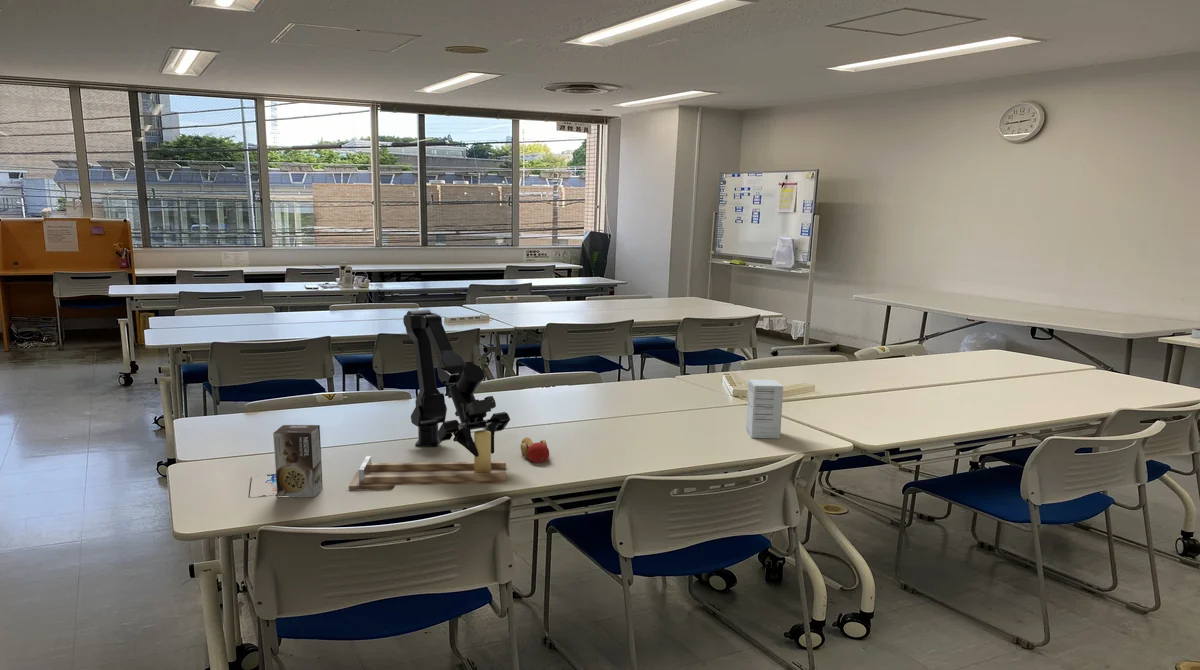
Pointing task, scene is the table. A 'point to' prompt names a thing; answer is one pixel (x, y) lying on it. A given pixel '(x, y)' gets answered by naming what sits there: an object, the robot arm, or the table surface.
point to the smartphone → (272, 482)
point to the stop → (364, 469)
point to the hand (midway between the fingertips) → (485, 454)
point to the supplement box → (764, 409)
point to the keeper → (482, 451)
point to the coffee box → (298, 460)
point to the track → (427, 474)
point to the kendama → (535, 450)
